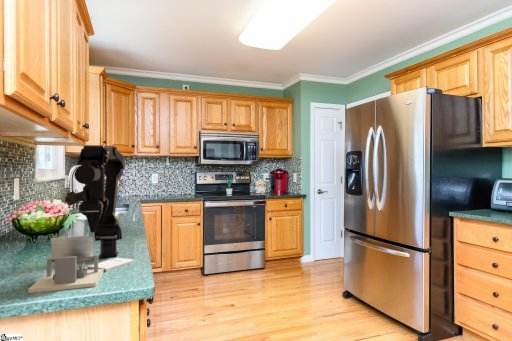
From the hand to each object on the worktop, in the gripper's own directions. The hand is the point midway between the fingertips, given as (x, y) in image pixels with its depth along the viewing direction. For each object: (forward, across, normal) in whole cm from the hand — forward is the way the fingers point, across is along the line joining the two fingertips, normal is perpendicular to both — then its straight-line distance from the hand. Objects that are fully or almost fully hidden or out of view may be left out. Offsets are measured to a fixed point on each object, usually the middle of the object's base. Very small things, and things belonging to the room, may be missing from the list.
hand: (94, 229), depth 105 cm
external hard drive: (+14, -2, +5) cm, 15 cm away
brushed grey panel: (+7, +8, -5) cm, 12 cm away
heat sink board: (+13, +12, -5) cm, 18 cm away
